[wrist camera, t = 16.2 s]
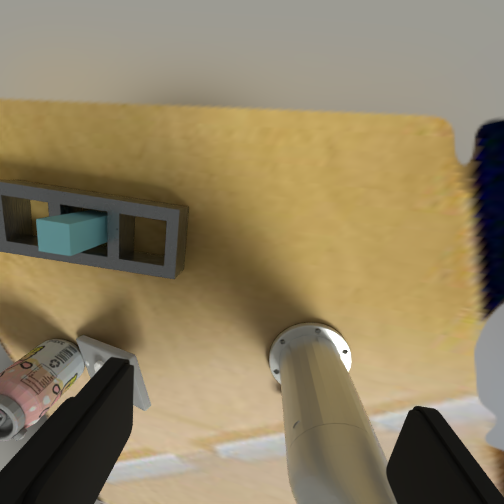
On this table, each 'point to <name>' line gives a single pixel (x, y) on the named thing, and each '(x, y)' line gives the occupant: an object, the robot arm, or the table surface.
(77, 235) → the square peg
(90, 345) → the light switch
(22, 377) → the beverage can
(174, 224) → the hole rail
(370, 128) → the table surface
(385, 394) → the table surface
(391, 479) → the robot arm
